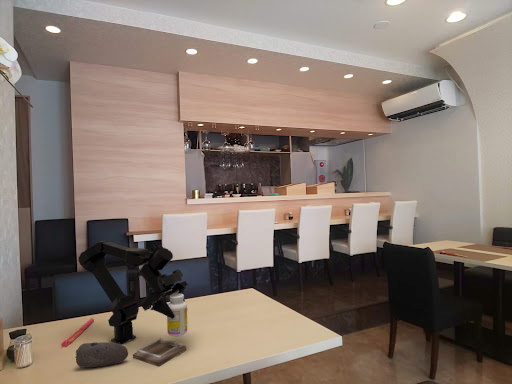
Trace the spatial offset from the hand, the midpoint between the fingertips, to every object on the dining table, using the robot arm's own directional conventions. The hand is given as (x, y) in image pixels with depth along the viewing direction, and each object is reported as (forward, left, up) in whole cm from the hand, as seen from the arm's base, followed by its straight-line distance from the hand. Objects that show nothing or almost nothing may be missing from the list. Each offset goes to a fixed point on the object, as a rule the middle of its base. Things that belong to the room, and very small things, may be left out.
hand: (180, 314), depth 109 cm
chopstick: (-48, -7, -13) cm, 50 cm away
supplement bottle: (-1, 0, -7) cm, 7 cm away
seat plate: (-5, -5, -12) cm, 14 cm away
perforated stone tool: (-16, -18, -13) cm, 27 cm away
